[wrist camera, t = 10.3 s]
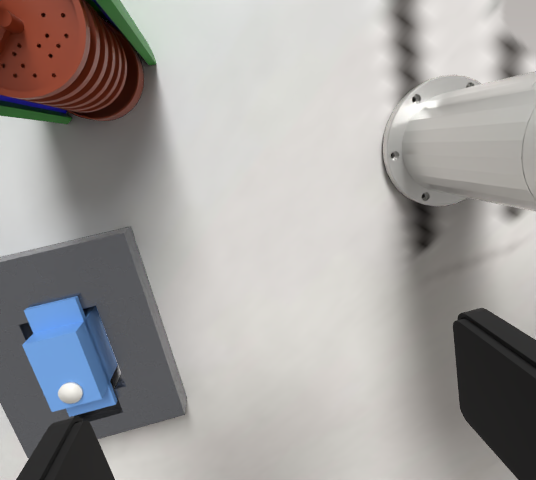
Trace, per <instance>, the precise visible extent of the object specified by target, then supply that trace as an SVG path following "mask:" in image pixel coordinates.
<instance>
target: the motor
mask: <svg viewBox="0 0 536 480" xmlns="http://www.w3.org/2000/svg"><path fill="white" fill-rule="evenodd" d="M102 18H103V19H106V20H109V21H110V22H111V23H112V24H113V26H114V27H115V28H114V27H113V26H112V25H110V24H109V23H107V22H105V21H104V20H103V19H102ZM117 29H118V30H119V31H120V32H121V33H122V34H123V35H124V36H125V37H126V38H127V39H128V41H129V42H130V43H131V44H132V45H133V47H134V48H135V49H136V50H137V52H138V53H139V54H140V55H141V56H142V58H143V59H144V60H145V61H146V63H147V64H148V65H155V64H156V61H155V58H154V55H153V53H152V50H151V48H150V47H149V45H148V43H147V42H146V40H145V38H144V37H143V35H142V34H141V32H140V31H139V29H138V28H137V26H136V24H135V23H134V21H133V20H132V18H131V17H130V15H129V14H128V12H127V11H126V9H125V7H124V6H123V4H122V3H121V1H120V0H0V115H1V116H8V117H16V118H24V119H32V120H40V121H47V122H55V123H63V124H68V123H69V122H70V121H71V119H72V118H71V117H70V116H68V115H67V114H66V112H67V111H68V112H70V113H72V114H74V115H76V116H79V117H82V118H87V119H92V120H98V121H109V120H114V119H117V118H120V117H122V116H124V115H125V114H127V113H128V112H130V111H131V110H132V109H133V108H134V107H135V105H136V104H137V102H138V101H139V99H140V96H141V94H142V90H143V85H144V74H143V68H142V64H141V61H140V59H139V57H138V55H137V53H136V51H135V50H134V48H133V47H132V46H131V44H130V43H129V42H128V41H127V39H126V38H125V37H124V36H123V35H122V34H121V33H120V32H119V31H118V30H117Z"/></svg>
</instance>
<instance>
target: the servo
mask: <svg viewBox="0 0 536 480" xmlns="http://www.w3.org/2000/svg"><path fill="white" fill-rule="evenodd" d="M24 313H25V315H26V317H27V320H28V322H29V324H30V327H31V329H32V331H33V334H32V335H31V336H30V337H29V339H28V340H27V341H26V342H25V343H24V344H23V345H22V346H23V348H24V351H25V353H26V355H27V357H28V360H29V362H30V364H31V366H32V369H33V371H34V373H35V375H36V378H37V380H38V382H39V384H40V387H41V389H42V391H43V393H44V396H45V398H46V400H47V402H48V405H49V407H50V409H51V411H52V412H54V411H58V410H62V409H66V410H67V413H68V415H69V417H71V416H75V415H78V414H82V413H86V412H90V411H94V410H97V409H101V408H105V407H109V406H112V405H116V403H117V398H116V396H115V393H114V390H113V388H112V385H111V382H110V380H111V378H112V376H113V374H114V371H115V369H116V367H117V362H116V359H115V356H114V354H113V351H112V348H111V345H110V343H109V340H108V337H107V335H106V332H105V329H104V326H103V324H102V321H101V318H100V316H99V313H98V310H97V307H96V306H92V307H88V308H84V309H82V306H81V303H80V301H79V298H78V296H75V297H71V298H67V299H62V300H58V301H54V302H50V303H46V304H41V305H37V306H33V307H29V308H26V309H25V310H24Z"/></svg>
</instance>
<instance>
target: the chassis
mask: <svg viewBox="0 0 536 480" xmlns="http://www.w3.org/2000/svg"><path fill="white" fill-rule="evenodd" d="M75 296H78V298H79V301H80V303H81V306H82V309H84V308H88V307H92V306H96V307H97V310H98V312H99V315H100V318H101V320H102V323H103V326H104V328H105V331H106V333H107V336H108V339H109V341H110V344H111V347H112V349H113V352H114V355H115V357H116V360H117V363H118V365H119V368H120V370H121V375H120V377H119V380H118V382H117V385H116V387H115V389H114V390H115V392H116V395H117V397H118V398H117V403H116V405H112V406H109V407H105V408H101V409H97V410H94V411H90V412H86V413H82V414H78V415H75V416H71V417H69V415H68V413H67V410H66V409H62V410H58V411H54V412H52V411H51V409H50V407H49V405H48V402H47V400H46V398H45V396H44V393H43V391H42V389H41V387H40V384H39V382H38V380H37V378H36V375H35V373H34V371H33V369H32V366H31V364H30V362H29V360H28V357H27V355H26V353H25V351H24V348H23V346H22V345H23V344H24V343H25V342H26V341H27V340H28V339H29V337H30V336H31V335H32V334H33V331H32V329H31V327H30V324H29V322H28V320H27V317H26V315H25V313H24V310H25V309H26V308H29V307H33V306H37V305H41V304H46V303H50V302H54V301H58V300H62V299H67V298H71V297H75ZM186 401H187V396H186V393H185V390H184V387H183V384H182V381H181V378H180V375H179V372H178V369H177V366H176V363H175V360H174V357H173V354H172V350H171V347H170V344H169V341H168V338H167V335H166V332H165V329H164V326H163V323H162V320H161V317H160V314H159V311H158V308H157V305H156V302H155V299H154V296H153V292H152V289H151V286H150V283H149V280H148V277H147V274H146V271H145V268H144V265H143V262H142V259H141V256H140V253H139V250H138V247H137V244H136V241H135V238H134V235H133V231H132V228H131V226H130V227H126V228H122V229H118V230H113V231H109V232H105V233H101V234H96V235H92V236H88V237H84V238H79V239H75V240H71V241H67V242H62V243H58V244H54V245H50V246H45V247H41V248H37V249H33V250H28V251H24V252H20V253H16V254H11V255H7V256H3V257H0V403H1V405H2V407H3V409H4V411H5V413H6V415H7V417H8V419H9V421H10V423H11V425H12V427H13V429H14V431H15V433H16V435H17V437H18V439H19V441H20V443H21V445H22V447H23V449H24V451H25V453H26V455H27V457H28V458H30V456H31V455H32V453H33V452H34V450H35V448H36V447H37V445H38V443H39V442H40V440H41V439H42V437H43V435H44V434H45V432H46V430H47V429H48V427H49V426H50V425H51V424H52V423H54V422H58V421H62V420H66V419H69V418H73V417H80V418H81V419H82V420H83V421H89V422H90V424H91V426H92V428H93V430H94V433H95V435H96V437H97V439H99V438H103V437H106V436H110V435H114V434H117V433H121V432H124V431H128V430H132V429H135V428H139V427H142V426H146V425H149V424H153V423H157V422H160V421H164V420H167V419H171V418H175V417H178V416H182V415H185V409H186Z"/></svg>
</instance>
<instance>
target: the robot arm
mask: <svg viewBox="0 0 536 480" xmlns="http://www.w3.org/2000/svg"><path fill="white" fill-rule="evenodd" d="M412 98H413V99H414V101H412ZM391 154H393V157H392V158H391ZM383 158H384V163H385V167H386V171H387V173H388V175H389V177H390V179H391V181H392V183H393V184H394V185H395V187H396V188H397V189H398V190H399V191H400V192H401V193H402V194H403V195H405V196H406V197H407V198H409V199H411V200H413V201H415V202H417V203H421V204H424V205H430V206H448V205H452V204H456V203H458V202H460V201H463V200H465V199H467V198H471V199H476V200H481V201H486V202H491V203H496V204H501V205H506V206H511V207H516V208H521V209H526V210H531V211H536V71H535V72H530V73H526V74H522V75H518V76H514V77H509V78H505V79H501V80H497V81H493V82H488V83H484V84H481V83H479V82H478V81H476V80H474V79H471V78H469V77H466V76H459V75H447V76H440V77H437V78H433V79H430V80H428V81H426V82H424V83H421V84H419V85H418V86H417V87H415V88H414V89H412V90H411V91H409V92H408V93H407V94H406V95H405V96H404V97H403V98H402V99H401V100H400V102H399V103H398V105H397V106H396V108H395V109H394V111H393V112H392V114H391V117H390V119H389V121H388V123H387V126H386V130H385V134H384V140H383ZM422 195H423V196H422ZM453 332H454V344H455V355H456V367H457V378H458V390H459V401H460V409H461V412H462V414H463V416H464V418H465V419H466V421H467V422H468V423H469V424H470V426H471V427H472V428H473V429H474V430H475V431H476V432H477V433H478V435H479V436H480V437H481V438H482V439H483V440H484V441H485V442H486V444H487V445H488V446H489V447H490V448H491V449H492V450H493V451H494V453H495V454H496V455H497V456H498V457H499V458H500V459H501V460H502V462H503V463H504V464H505V465H506V466H507V467H508V468H509V469H510V471H511V472H512V473H513V474H514V475H515V476H516V477H517V479H518V480H536V340H535V339H533V338H532V337H530V336H528V335H527V334H525V333H523V332H522V331H520V330H519V329H517V328H515V327H514V326H512V325H511V324H509V323H507V322H506V321H504V320H503V319H501V318H499V317H498V316H496V315H494V314H493V313H491V312H490V311H488V310H486V309H484V308H479V309H475V310H472V311H468V312H464V313H461V314H459V316H458V320H457V321H455V322H454V323H453ZM16 480H115V479H114V476H113V474H112V472H111V469H110V467H109V465H108V463H107V460H106V458H105V456H104V453H103V451H102V449H101V446H100V444H99V442H98V440H97V437H96V435H95V433H94V430H93V428H92V426H91V424H90V422H89V421H83V420H82V419H81V418H80V417H73V418H69V419H66V420H62V421H58V422H54V423H52V424H51V425H50V426H49V427H48V429H47V430H46V432H45V434H44V435H43V437H42V439H41V440H40V442H39V443H38V445H37V447H36V448H35V450H34V452H33V453H32V455H31V456H30V458H29V460H28V461H27V463H26V465H25V466H24V468H23V469H22V471H21V473H20V474H19V476H18V478H17V479H16Z"/></svg>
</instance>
